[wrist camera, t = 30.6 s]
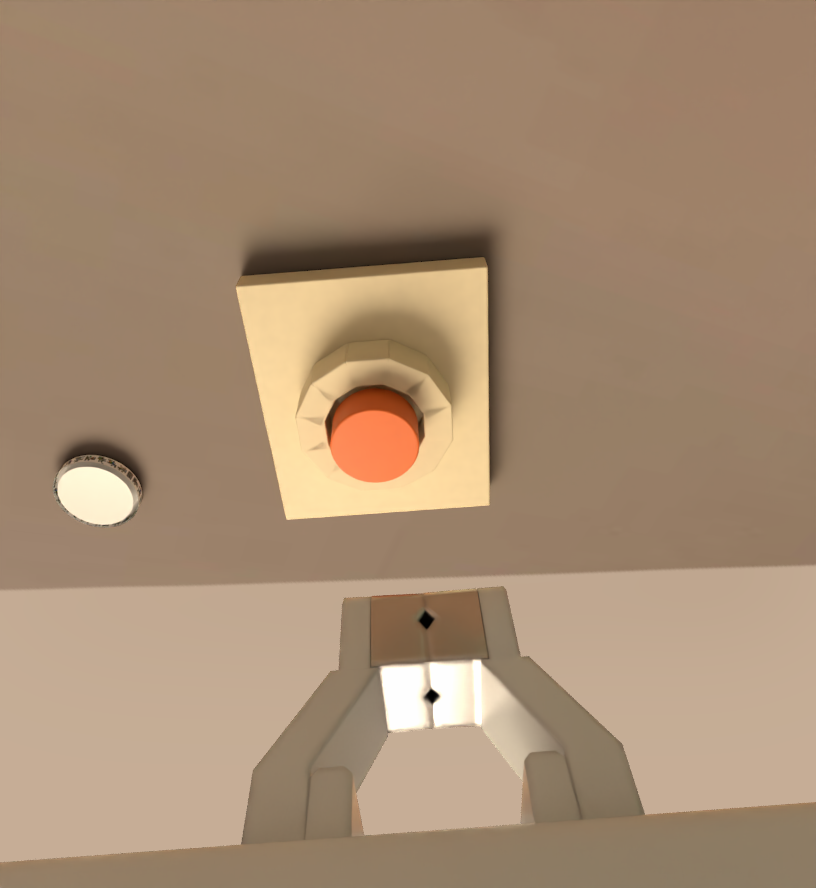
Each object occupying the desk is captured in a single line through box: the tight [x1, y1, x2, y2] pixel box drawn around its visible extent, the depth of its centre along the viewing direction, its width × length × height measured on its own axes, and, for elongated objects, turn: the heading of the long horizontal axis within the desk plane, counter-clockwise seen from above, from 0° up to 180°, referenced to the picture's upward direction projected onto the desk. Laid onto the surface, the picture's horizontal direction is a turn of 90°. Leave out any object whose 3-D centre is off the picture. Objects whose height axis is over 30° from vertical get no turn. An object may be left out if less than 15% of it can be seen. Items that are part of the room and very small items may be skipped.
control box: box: [236, 257, 490, 520], centre depth 30 cm, size 10×12×3 cm
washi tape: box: [53, 455, 142, 528], centre depth 34 cm, size 4×4×1 cm
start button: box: [330, 388, 419, 483], centre depth 29 cm, size 4×4×2 cm
